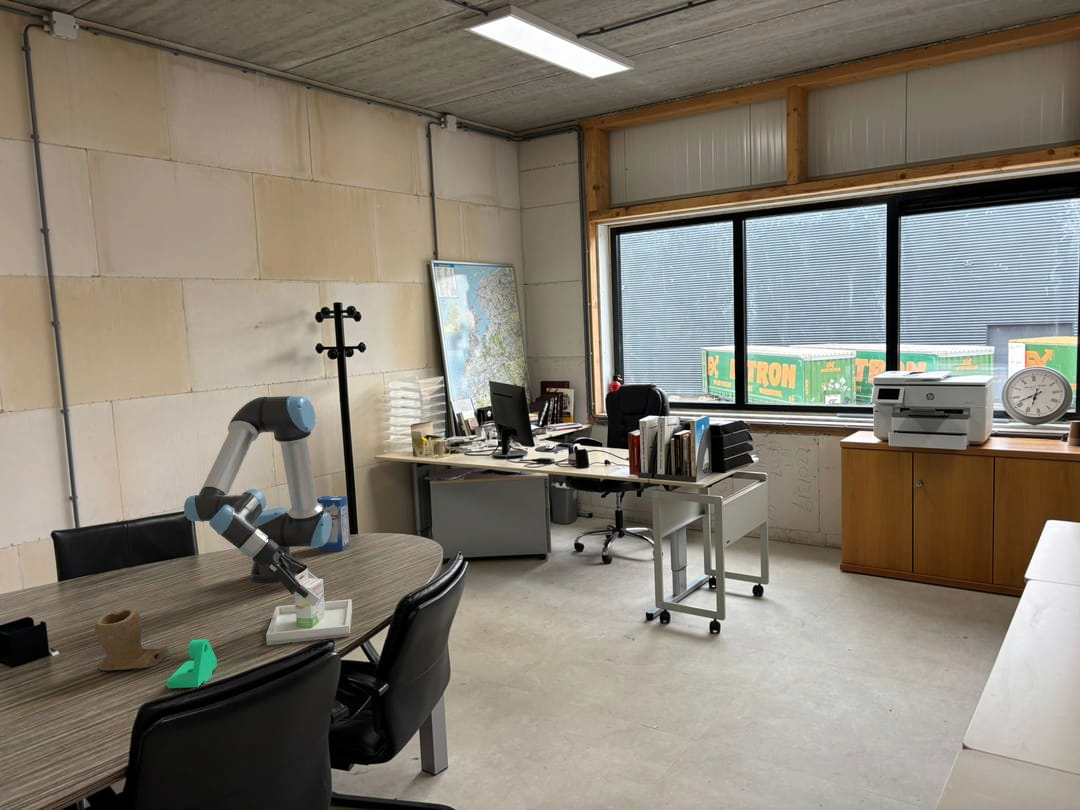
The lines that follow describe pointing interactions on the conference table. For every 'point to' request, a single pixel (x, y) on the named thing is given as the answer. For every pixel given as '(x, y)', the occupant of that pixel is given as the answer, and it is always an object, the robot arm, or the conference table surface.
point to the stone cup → (125, 642)
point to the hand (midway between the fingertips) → (318, 594)
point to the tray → (329, 627)
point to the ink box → (304, 610)
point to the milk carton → (336, 522)
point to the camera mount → (195, 666)
